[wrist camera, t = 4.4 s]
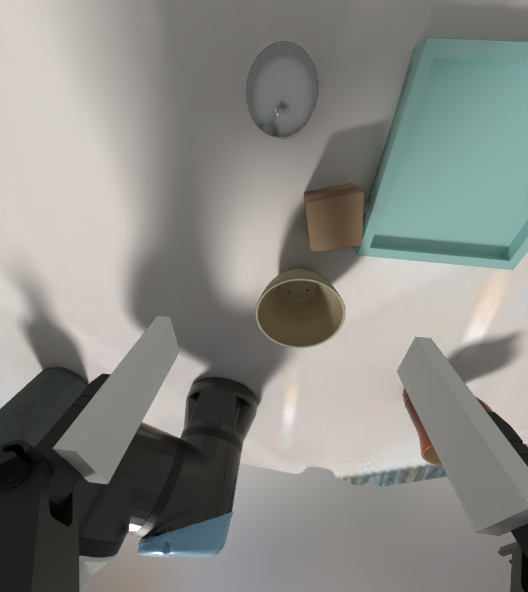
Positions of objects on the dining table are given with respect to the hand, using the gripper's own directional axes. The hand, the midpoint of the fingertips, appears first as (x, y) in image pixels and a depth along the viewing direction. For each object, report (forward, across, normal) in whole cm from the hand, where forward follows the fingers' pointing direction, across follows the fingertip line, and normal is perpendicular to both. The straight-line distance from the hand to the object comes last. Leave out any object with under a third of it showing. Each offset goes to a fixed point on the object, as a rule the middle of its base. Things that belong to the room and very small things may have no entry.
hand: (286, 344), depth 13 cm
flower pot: (+18, +2, -7) cm, 20 cm away
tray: (+18, +17, +7) cm, 26 cm away
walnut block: (+18, +4, +3) cm, 19 cm away
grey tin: (+18, -1, +12) cm, 22 cm away
